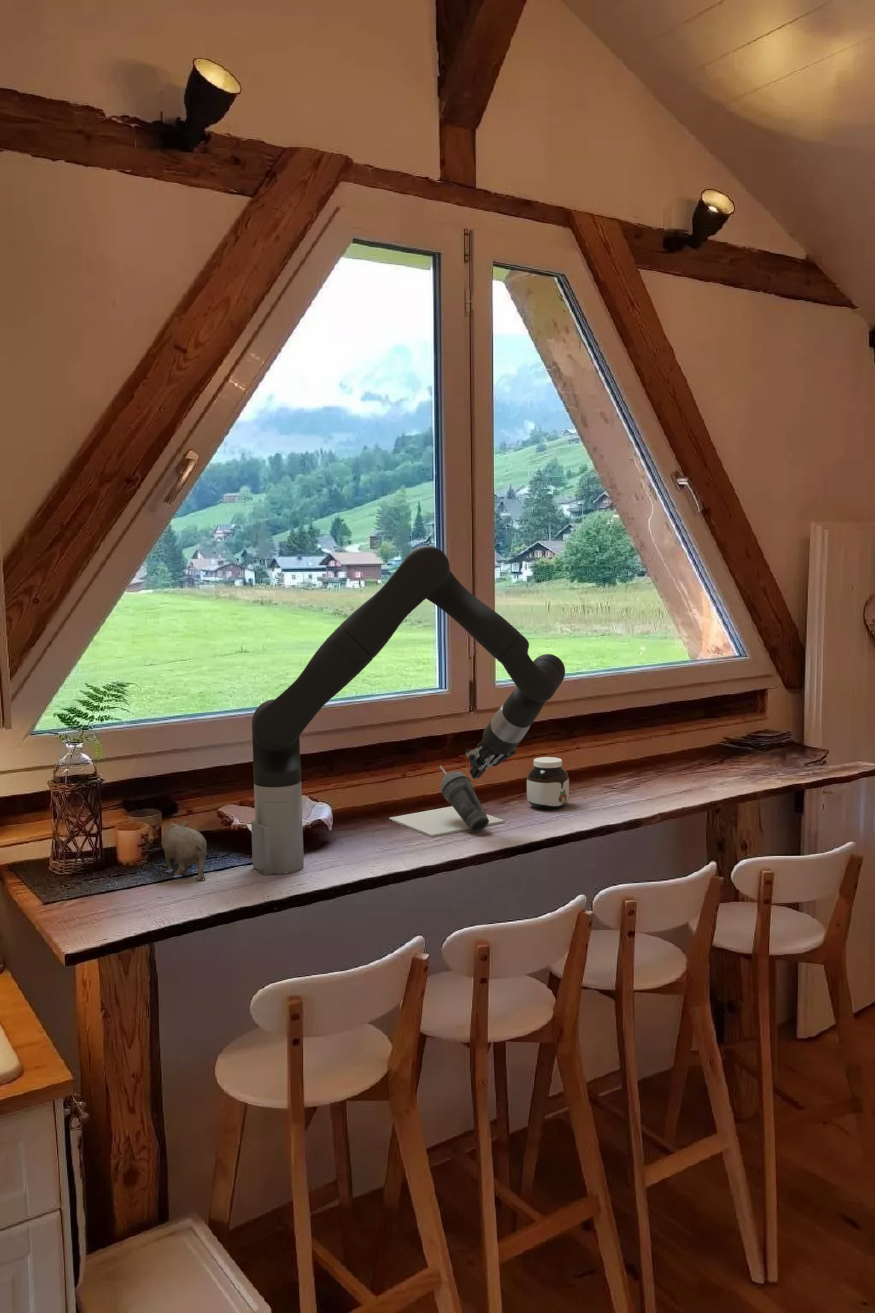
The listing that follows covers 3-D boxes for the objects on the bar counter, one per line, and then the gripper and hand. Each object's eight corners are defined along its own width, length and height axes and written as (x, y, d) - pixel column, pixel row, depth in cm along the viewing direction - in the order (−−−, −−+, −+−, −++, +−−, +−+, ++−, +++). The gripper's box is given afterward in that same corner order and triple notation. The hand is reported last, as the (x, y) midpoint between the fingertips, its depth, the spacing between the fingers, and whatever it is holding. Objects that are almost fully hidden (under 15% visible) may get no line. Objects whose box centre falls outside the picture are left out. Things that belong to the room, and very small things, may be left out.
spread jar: (544, 813, 237) (544, 765, 236) (511, 805, 246) (511, 758, 245) (579, 805, 245) (579, 758, 244) (546, 797, 254) (545, 751, 253)
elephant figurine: (168, 877, 186) (166, 801, 193) (159, 900, 197) (157, 828, 204) (211, 875, 189) (207, 801, 196) (199, 898, 200) (196, 827, 207)
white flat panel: (431, 837, 219) (431, 835, 219) (389, 819, 234) (389, 817, 234) (504, 822, 230) (504, 820, 230) (459, 806, 245) (459, 804, 245)
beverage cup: (466, 819, 217) (427, 756, 231) (463, 840, 222) (425, 777, 235) (495, 809, 220) (455, 747, 233) (492, 830, 225) (453, 768, 238)
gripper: (524, 710, 215) (491, 757, 227) (474, 716, 208) (442, 765, 219) (540, 738, 211) (505, 785, 223) (489, 745, 204) (456, 793, 216)
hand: (474, 775), depth 221 cm, fingers closed
